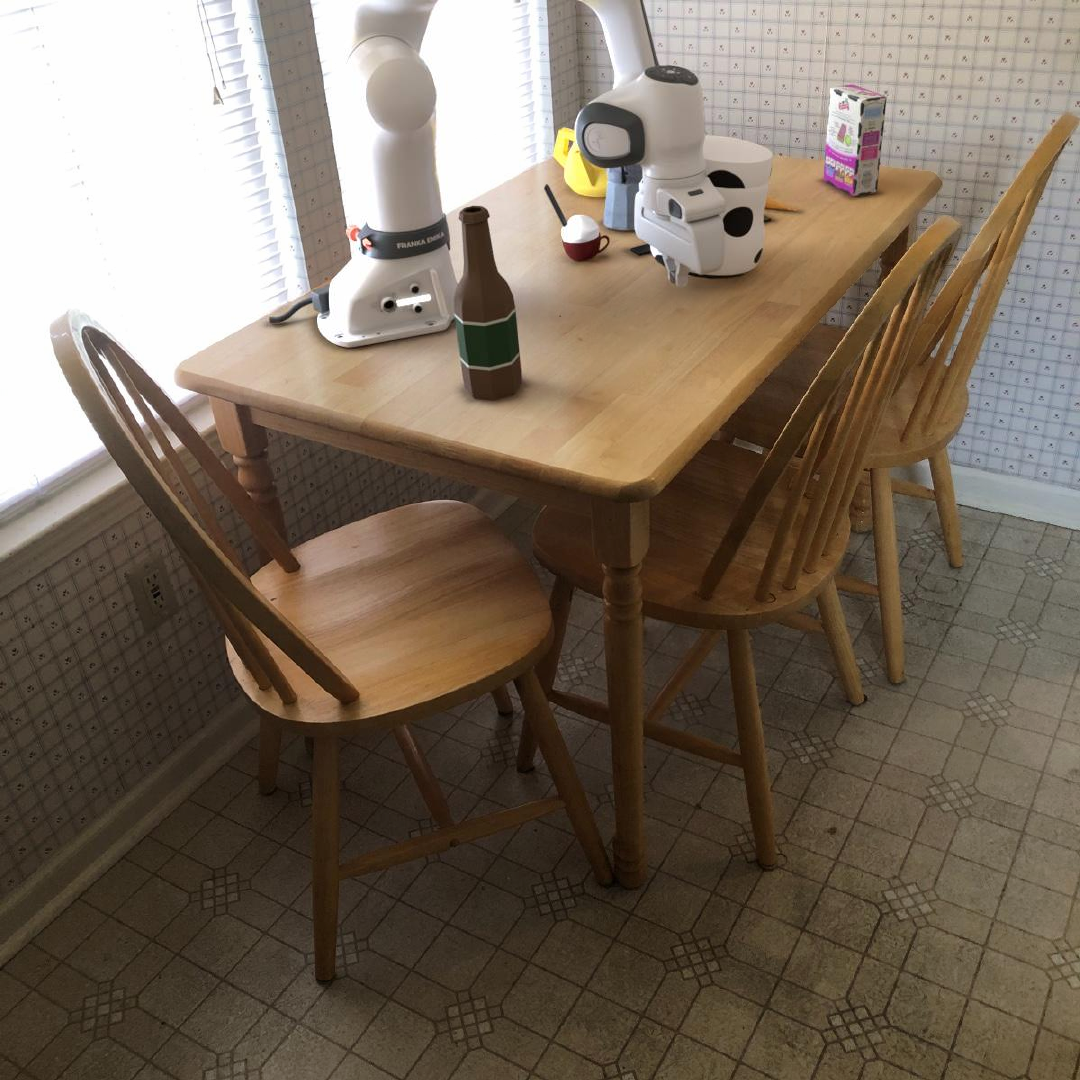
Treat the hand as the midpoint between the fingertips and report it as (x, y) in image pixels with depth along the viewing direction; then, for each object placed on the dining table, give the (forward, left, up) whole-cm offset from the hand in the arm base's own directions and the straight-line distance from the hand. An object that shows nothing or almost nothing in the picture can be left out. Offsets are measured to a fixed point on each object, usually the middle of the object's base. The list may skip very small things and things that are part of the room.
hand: (678, 283), depth 165 cm
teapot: (+17, +53, -3) cm, 56 cm away
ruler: (+17, +20, -3) cm, 27 cm away
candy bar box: (+51, +24, -3) cm, 57 cm away
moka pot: (+10, +32, -3) cm, 34 cm away
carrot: (+31, +28, -3) cm, 43 cm away
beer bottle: (-35, -10, -3) cm, 36 cm away
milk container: (+8, +6, -2) cm, 11 cm away
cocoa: (-4, +24, -3) cm, 25 cm away
